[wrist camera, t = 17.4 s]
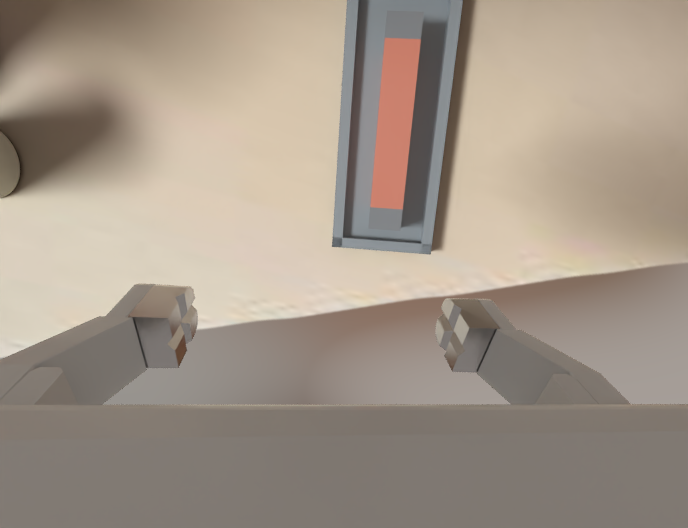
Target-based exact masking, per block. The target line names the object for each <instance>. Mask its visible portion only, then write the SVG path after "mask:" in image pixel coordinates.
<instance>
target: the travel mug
mask: <svg viewBox="0 0 688 528" xmlns="http://www.w3.org/2000/svg"><path fill="white" fill-rule="evenodd" d="M19 176H20V164H19V159H18V156H17V153H16V151H15V149H14V147H13V145H12V143H11V142H10V141H9V139H8V138H7V137H6V136H5V135H4V134H3V133H2V132H0V198H2V197H5V196H7V195H8V194H10V193H11V192H12V191H13V190H14V188H15V187H16V185H17V183H18V180H19Z"/></svg>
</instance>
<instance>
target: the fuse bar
mask: <svg viewBox="0 0 688 528" xmlns="http://www.w3.org/2000/svg"><path fill="white" fill-rule="evenodd" d="M423 15H424V12H418V11H388V10H387V17H386V27H385V38H384V50H383V61H382V73H381V85H380V97H379V108H378V120H377V132H376V144H375V155H374V167H373V179H372V190H371V202H370V214H369V226H368V229H379V230H392V231H400V230H401V221H402V212H403V202H404V193H405V184H406V174H407V165H408V156H409V146H410V137H411V128H412V118H413V109H414V100H415V90H416V81H417V71H418V62H419V53H420V43H421V34H422V25H423Z"/></svg>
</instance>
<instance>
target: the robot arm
mask: <svg viewBox="0 0 688 528" xmlns="http://www.w3.org/2000/svg"><path fill="white" fill-rule="evenodd" d="M194 299H195V296H194V291H193V289H192V287H190V286H174V285H158V284H157V285H155V284H136V285H134V286H133V287H132V288H131V289H130V290H129V291H128V293H127V294H126V295H125V296H124V297H123V298H122V299H121V300H120V301H119V302H118V303H117V304H116V306H115V307H114V308H113V309H112V310H111V311H110V312H109V313H108V314H107V315H106V316H105V317H101V316H99V317H97V318H95V319H92V320H90V321H88V322H85V323H83V324H81V325H79V326H76V327H74V328H72V329H69V330H67V331H65V332H63V333H60V334H58V335H56V336H53V337H51V338H49V339H47V340H44V341H42V342H40V343H37V344H35V345H33V346H31V347H28V348H26V349H24V350H21V351H19V352H17V353H15V354H12V355H10V356H8V357H5V358H3V359H1V360H0V528H688V404H632V405H631V404H630V403H629V402H628V401H627V400H626V399H625V398H624V397H623V396H622V395H621V394H620V393H619V392H618V391H617V390H616V389H615V388H614V387H613V386H612V385H611V384H610V383H609V382H608V381H607V380H606V379H605V378H604V377H603V376H602V375H601V374H600V373H598V372H597V371H595V370H593V369H591V368H589V367H587V366H586V365H584V364H582V363H580V362H578V361H577V360H575V359H573V358H571V357H569V356H568V355H566V354H564V353H562V352H560V351H558V350H557V349H555V348H553V347H551V346H549V345H547V344H546V343H544V342H542V341H540V340H538V339H537V338H535V337H533V336H531V335H529V334H527V333H526V332H524V331H522V330H516V328H515V327H514V326H513V325H512V324H511V322H510V321H509V320H508V319H507V318H506V316H505V315H504V314H503V313H502V312H501V310H500V309H499V308H498V307H497V306H496V305H495V303H494V302H493V301H492V300H489V299H449V298H446V300H445V301H444V302H443V305H442V307H441V309H442V311H443V313H444V314H443V315H442V316H440V317H439V318H438V320H437V324H436V338H437V341H438V344H439V346H440V347H442V348H443V349H444V350H446V353H445V355H444V356H445V358H446V360H447V362H448V364H449V366H450V368H451V370H452V371H453V372H476V373H477V374H478V375H479V376H480V377H481V378H482V379H483V380H485V381H486V382H487V383H488V384H489V385H490V386H491V387H492V388H494V389H495V390H496V391H497V392H498V393H499V394H500V395H501V396H502V397H504V398H505V399H506V400H507V401H508V402H509V403H511V404H510V405H509V404H507V405H405V404H403V405H402V404H400V405H397V404H395V405H392V404H389V405H386V404H385V405H384V404H381V405H380V404H379V405H378V404H377V405H376V404H374V405H373V404H368V405H367V404H366V405H364V404H363V405H362V404H360V405H359V404H357V405H354V404H352V405H102V404H103V403H104V402H106V401H107V400H108V399H110V398H111V397H112V396H114V395H115V394H116V393H117V392H119V391H120V390H121V389H123V388H124V387H125V386H126V385H128V384H129V383H130V382H132V381H133V380H134V379H135V378H137V377H138V376H139V375H140V374H142V373H143V372H144V371H146V370H147V369H146V368H179V366H180V364H181V362H182V360H183V358H184V356H185V354H186V351H187V348H186V343H188V342H190V341H191V340H192V339H193V337H194V335H195V333H196V328H197V321H198V316H197V310H196V309H195V308H194V307H193V306H192V303H193V301H194Z"/></svg>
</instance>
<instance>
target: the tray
mask: <svg viewBox="0 0 688 528" xmlns="http://www.w3.org/2000/svg"><path fill="white" fill-rule="evenodd" d="M462 4H463V0H347V11H346V28H345V44H344V61H343V77H342V94H341V110H340V127H339V143H338V160H337V176H336V193H335V209H334V226H333V242H332V247H343V248H356V249H369V250H381V251H394V252H406V253H419V254H431V247H432V239H433V231H434V223H435V215H436V207H437V200H438V192H439V184H440V176H441V168H442V160H443V152H444V145H445V137H446V129H447V121H448V113H449V105H450V98H451V90H452V82H453V74H454V66H455V58H456V51H457V43H458V35H459V27H460V19H461V11H462ZM387 10H388V11H418V12H424V15H423V25H422V34H421V43H420V53H419V62H418V71H417V81H416V90H415V100H414V109H413V118H412V128H411V137H410V146H409V156H408V165H407V174H406V184H405V193H404V202H403V212H402V221H401V230H400V231H392V230H379V229H368V226H369V214H370V202H371V190H372V179H373V167H374V155H375V144H376V132H377V120H378V108H379V97H380V85H381V73H382V61H383V50H384V38H385V27H386V17H387Z"/></svg>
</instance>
